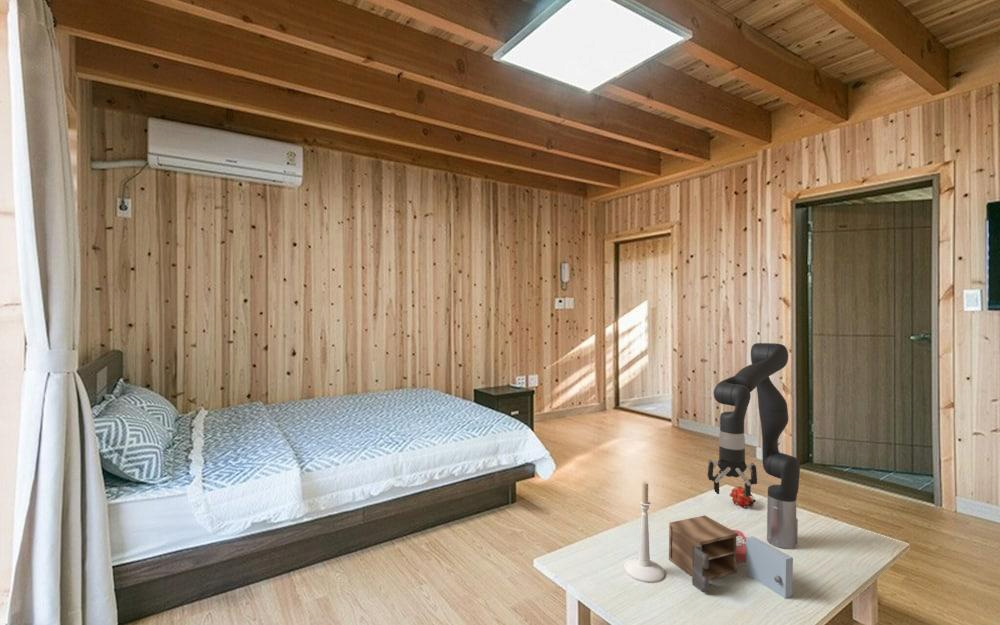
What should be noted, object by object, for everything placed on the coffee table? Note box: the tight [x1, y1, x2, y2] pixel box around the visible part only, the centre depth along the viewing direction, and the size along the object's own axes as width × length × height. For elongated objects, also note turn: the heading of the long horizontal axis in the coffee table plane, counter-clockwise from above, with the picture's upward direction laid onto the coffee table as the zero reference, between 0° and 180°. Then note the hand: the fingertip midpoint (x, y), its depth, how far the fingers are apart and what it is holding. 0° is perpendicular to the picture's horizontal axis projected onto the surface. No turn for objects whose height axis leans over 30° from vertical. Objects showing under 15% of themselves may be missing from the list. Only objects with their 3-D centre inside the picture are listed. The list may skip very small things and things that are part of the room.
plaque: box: [732, 529, 747, 563], centre depth 170 cm, size 18×4×15 cm
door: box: [745, 535, 794, 599], centre depth 147 cm, size 4×14×12 cm, turn 21°
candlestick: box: [623, 481, 666, 584], centre depth 154 cm, size 13×13×30 cm
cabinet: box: [668, 514, 738, 593], centre depth 154 cm, size 20×20×13 cm
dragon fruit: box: [729, 486, 756, 509], centre depth 206 cm, size 8×8×12 cm
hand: (731, 494), depth 151 cm, fingers open, 8 cm apart
